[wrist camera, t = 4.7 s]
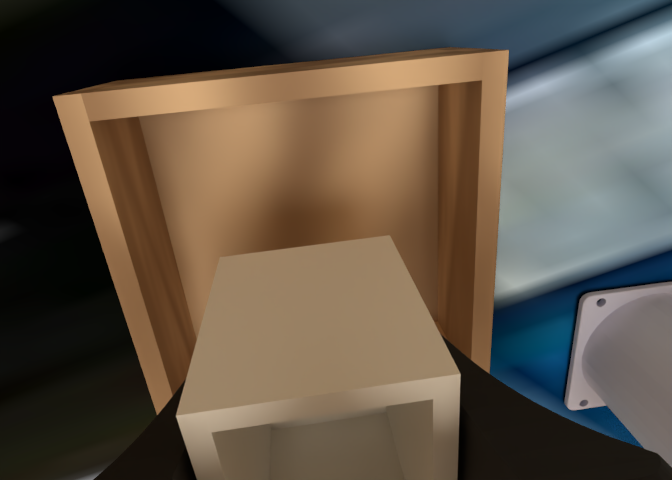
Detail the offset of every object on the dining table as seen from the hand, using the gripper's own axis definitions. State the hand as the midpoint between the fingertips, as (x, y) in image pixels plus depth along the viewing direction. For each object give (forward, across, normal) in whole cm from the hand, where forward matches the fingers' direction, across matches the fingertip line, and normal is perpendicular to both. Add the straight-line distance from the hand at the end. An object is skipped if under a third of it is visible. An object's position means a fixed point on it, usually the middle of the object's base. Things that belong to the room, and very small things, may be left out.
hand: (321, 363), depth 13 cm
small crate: (+2, 0, 0) cm, 2 cm away
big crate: (+9, 0, -1) cm, 9 cm away
